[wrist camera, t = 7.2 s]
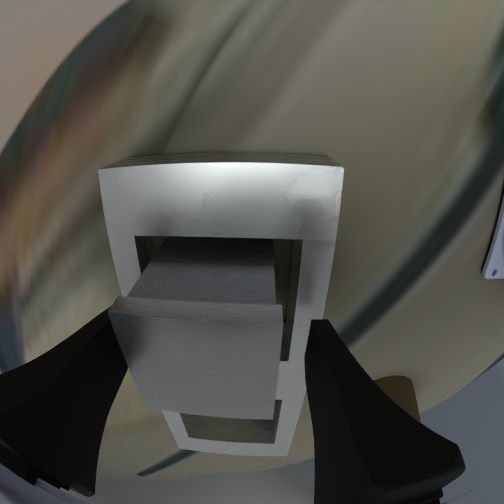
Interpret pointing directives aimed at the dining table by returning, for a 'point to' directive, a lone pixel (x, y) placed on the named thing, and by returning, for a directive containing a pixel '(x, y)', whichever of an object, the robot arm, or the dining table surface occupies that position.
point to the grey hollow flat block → (236, 226)
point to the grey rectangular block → (204, 328)
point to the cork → (400, 393)
